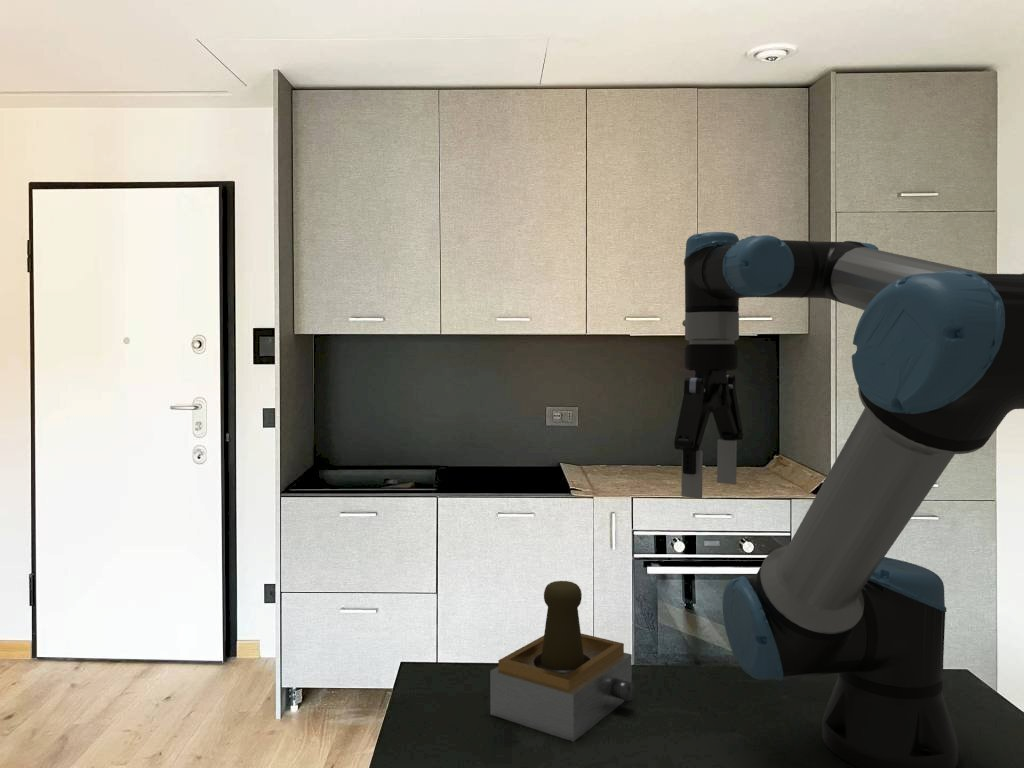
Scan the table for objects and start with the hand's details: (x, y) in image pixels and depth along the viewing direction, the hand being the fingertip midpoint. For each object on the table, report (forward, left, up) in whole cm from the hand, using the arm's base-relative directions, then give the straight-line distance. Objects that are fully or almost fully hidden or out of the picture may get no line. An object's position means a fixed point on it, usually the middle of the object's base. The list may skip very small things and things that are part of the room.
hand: (710, 490), depth 116 cm
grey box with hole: (+13, +18, -29) cm, 36 cm away
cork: (+14, +18, -23) cm, 32 cm away
